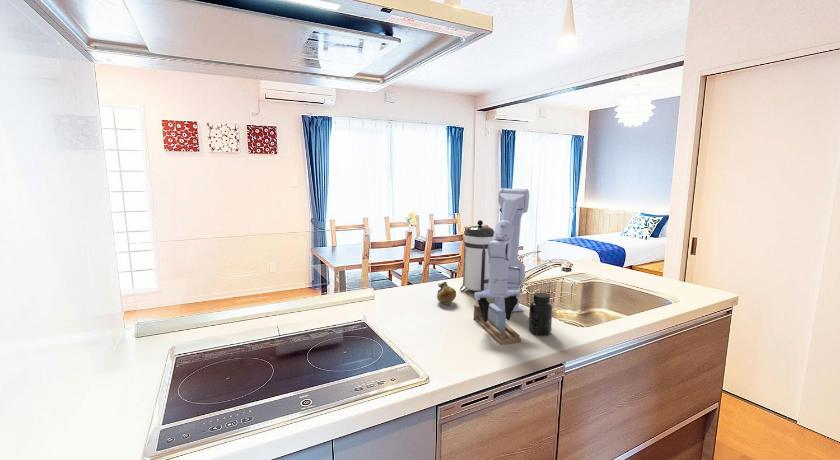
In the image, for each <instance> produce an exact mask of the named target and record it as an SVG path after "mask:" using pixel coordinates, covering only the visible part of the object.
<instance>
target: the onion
mask: <svg viewBox="0 0 840 460" xmlns="http://www.w3.org/2000/svg"><path fill="white" fill-rule="evenodd" d="M447 283H448V282H447V281H444V282H440V283H438V284H437V286H438V287H439V288H440V289H438V291H437V294H436V299H437V301H438V302H439V303H440V304H443V305H448V304H451V303H452V302H453V301H454V300H455V299H456V297H457V292H456V291H457V290H455V288H453V287H451V286H449V285H448V284H447Z"/></svg>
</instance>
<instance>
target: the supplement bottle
mask: <svg viewBox="0 0 840 460" xmlns="http://www.w3.org/2000/svg"><path fill="white" fill-rule="evenodd" d="M550 297H551V295H550V294H548V293H545V292H535V293H534V294H533V298H532V300H533V301H531V302H530V303H529V313H528V315H529V317H528V331H529V332H530V333H532V334H533V335H536V336H548V335H550V334H551V332H552V320H553V305H552V304H551V303H550V302H551V298H550Z"/></svg>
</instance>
